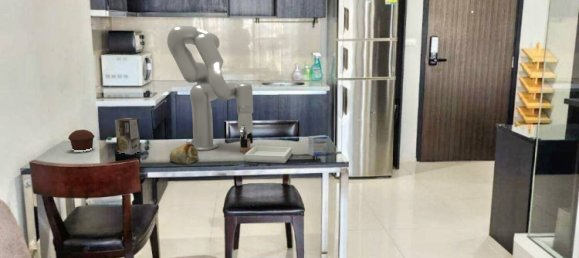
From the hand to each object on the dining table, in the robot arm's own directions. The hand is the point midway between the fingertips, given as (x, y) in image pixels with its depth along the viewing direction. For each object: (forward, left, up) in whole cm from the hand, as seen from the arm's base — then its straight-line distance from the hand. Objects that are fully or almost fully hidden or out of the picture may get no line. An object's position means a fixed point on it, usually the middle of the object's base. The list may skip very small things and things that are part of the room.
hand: (246, 145), depth 240 cm
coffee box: (-54, -13, -3) cm, 55 cm away
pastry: (-22, -23, -3) cm, 32 cm away
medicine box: (+34, -1, -3) cm, 34 cm away
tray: (+13, -11, -3) cm, 17 cm away
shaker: (-1, 0, -3) cm, 3 cm away
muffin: (-78, -13, -3) cm, 79 cm away
